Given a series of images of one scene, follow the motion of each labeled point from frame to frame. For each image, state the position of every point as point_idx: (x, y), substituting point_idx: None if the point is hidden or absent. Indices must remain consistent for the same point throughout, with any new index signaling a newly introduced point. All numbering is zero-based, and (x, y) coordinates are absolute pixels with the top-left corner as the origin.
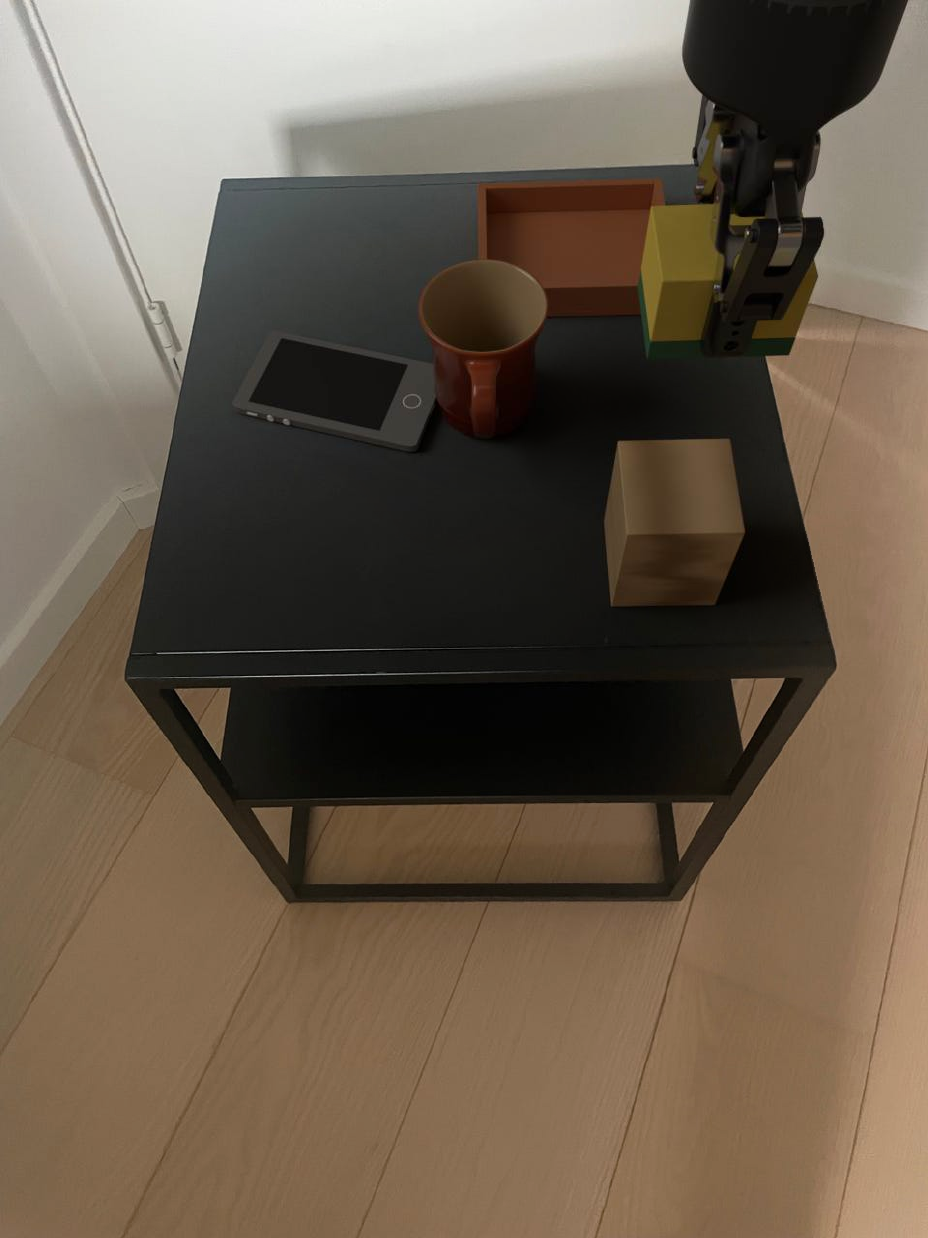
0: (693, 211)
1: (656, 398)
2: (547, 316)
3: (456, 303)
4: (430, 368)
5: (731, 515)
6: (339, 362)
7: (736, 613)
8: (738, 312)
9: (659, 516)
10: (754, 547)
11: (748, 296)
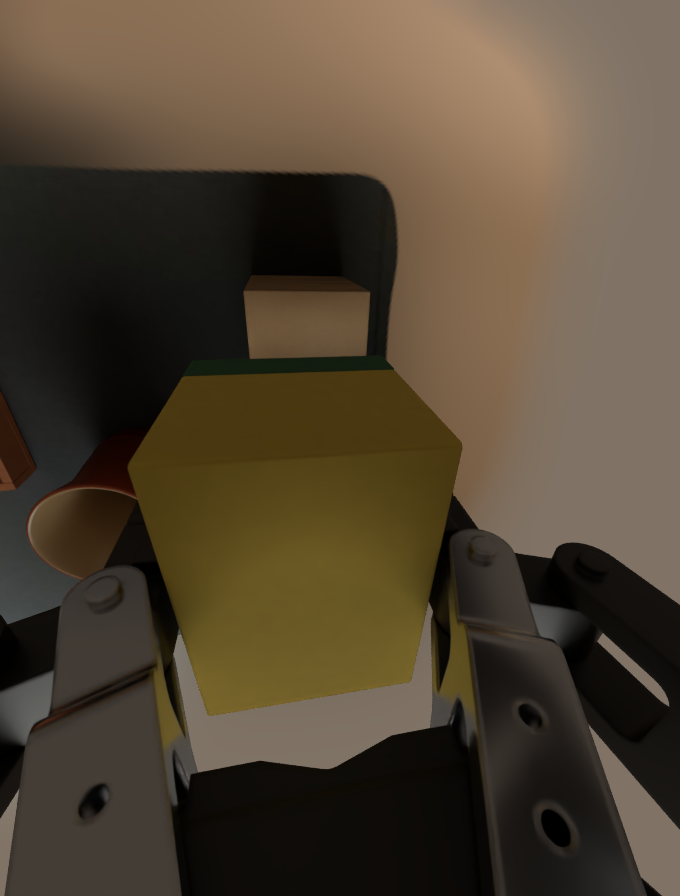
0: (217, 667)
1: (98, 306)
2: (10, 412)
3: (84, 538)
4: None
5: (349, 304)
6: None
7: (351, 256)
8: (601, 646)
9: None
10: (281, 224)
11: (588, 649)
